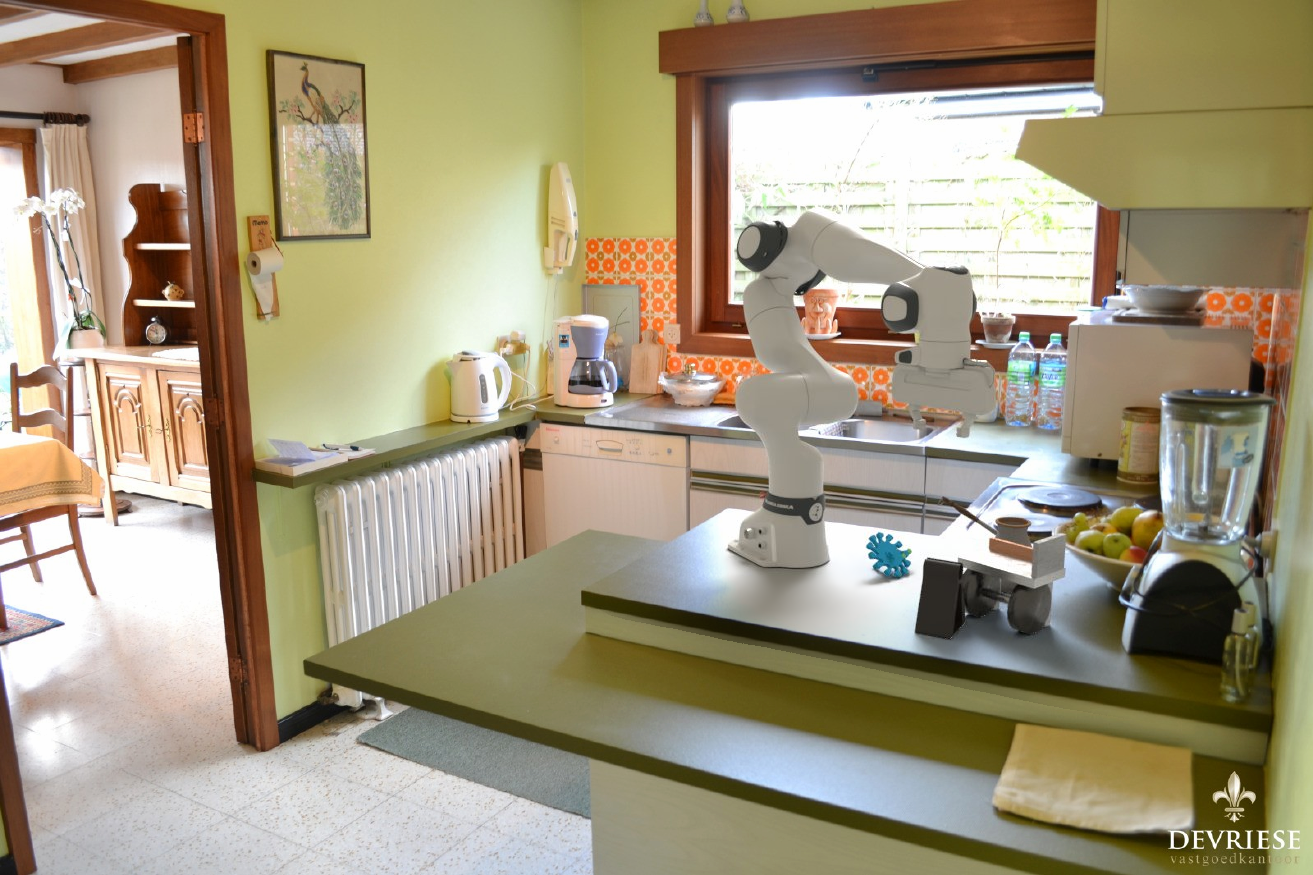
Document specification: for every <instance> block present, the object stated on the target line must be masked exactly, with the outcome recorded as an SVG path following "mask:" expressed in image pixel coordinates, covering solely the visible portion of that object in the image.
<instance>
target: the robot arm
mask: <svg viewBox="0 0 1313 875" xmlns="http://www.w3.org/2000/svg"><path fill="white" fill-rule="evenodd" d="M736 244H737V245H736V257H737V259H738V261H739V263H740V264H741V265H742V266H744V267H745V268H747V270H750V271H751V272H753V273H758V274H759V275H758V277H757V278H754V279H753V280H751V281H750V282H749V283H748V284H747V285H746V287H745V289H744V290H743V295H742V301H743V302H742V305H743V306H742V307H743V314H744V320H745V323H746V327H747V331H748V335H749V338H750V341H751V344H752V345H751V346H752V348H753V350H754V351H753V352H754V355H755V358H756V360H757V361H758V363H759V364H760V365H761V366H762V367H764V368H765V369H767V370H769V371H771V372H772V373H771V372H770V373H768V372H767V373H763V374H758V375H754V376H751V377H748V378H745V379H743V380H742V381H741V383H740V385H739V386H738V388H737V389H736V392H735V400H734V404H735V405H734V406H735V409H736V412H737V414H738V416H739V418H740V419H741V421H742V422H743V423H744V424H745V425H746V426H748V427H750V428H751V429H752V430H753V431H754V432H755V433H756V434H757V436H758V437H759V438H760V440H761V441H762V443H763V446H764V448H765V452H766V455H767V465H768V490H766V491H762V492H759V495H760V496H759V498H760V499H761V498H763V502H762V504H761V507H759V508H758V509H756V510H755V511H754V512H753V513H751V514H750V515H749V516H747V517H746V518H744V519H743V520H742V522H741V523H740V527H739V534H738V538H735V539H734V540H731V541H729V543H728V544H727V549H729V550H730V551H732V552H734V553H736V554H738V555H740V556H741V557H743V558H745V559H747V560H749V561H750V562H752V563H754V564H757V565H759V566H760V567H763V568H772V567H773V568H774V567H775V568H778V567H779V568H780V567H781V568H794V569H797V568H798V569H799V568H801V569H802V568H813V567H818V566H821V565H824V564H825V563H828V562H829V561H830V558H831V557H830V554H829V545H828V543H827V536H826V525H825V523H826V522H825V516H824V512H825V509H826V508H825V507H826V493H825V491H824V458H823V455H822V453H821V452H820V450H819V449H818V448H816V447H815V446H813V445H812V444H809V443H808V442H805V441H804V440H801V438H800V434H799V427H802V426H805V427H806V426H817V425H818V426H819V425H831V424H834V423H838V422H841V421H845V420H848V419H850V418H851V417H852V416H853V415H854V414H855V411H856V410H857V407H858V405H859V398H860V397H859V396H860V394H859V393H860V392H859V389H858V386H857V384H856V382H855V380H854V379H853V377H852V376H851V375H849V374H848V373H846V372H843V371H841V370H839V369H837V368H836V367H834V366H833V365H831V364H830V363H828V362H827V361H826V360H825V359H824V358H823V357H822V356H821V355H819V354H818V352H817V351H816V350H815V349H814V347H813V346H812V344H811V343H810V342H809V340H808V339H809V338H808V337H807V335H806V332H805V330H804V327H803V324H802V322H801V319H800V317H799V314H798V310H797V308H796V304H795V302H794V296H796V297H799V296H801V297H802V296H804V295H807V294H808V292H809V291H810V290H812V289H814V288H816V287H817V286H818V285H820V283H821V282H822V281H823V280H825V278H826V276H828V277H830V278H832V279H833V280H836V281H839V282H843V283H848V284H874V285H875V284H876V285H883V286H884V285H886V286H888V287H887V289H886V290H885V291H884V293H883V296H882V298H881V301H880V302H881V304H880V313H881V314H880V315H881V317H882V321H883V322H884V325H885V326H886V327H887V328H888V329H889V330H891V331H892V332H893V333H899V334H902V335H903V334H905V335H907V334H919V336H918V337H919V338H918V345H917V346H912V347H909V348H905V349H902V350H898V351H896V352H895V354H894V362H895V363H896V365H895V366H894V369H893V371H892V380H891V397H892V398H893V400H894V402H895V403H901V404H907V405H908V408H907V410H908V412H909V414H910V416H911V418H912V420H913V421H912V423H913V425H912V426H913V427H912V428H913V430H918V431H922V430H924V431H925V430H926V423H927V420H926V419H924V418H923V416H922V413H921V410H922V409H923V407H925V408H926V407H927V408H932V409H939V410H945V411H951V412H956V413H957V412H959V413H962V414H961V416H962V419H964V420H963V422H962V424H961V426H956V434H955V435H956V437H957V438H961V439H966V438H969V436H970V432H971V431H970V429H971V427H972V426H973V424H974V422H975V421H976V420H977V416H986V415H991V414H993V412H995V410H996V408H997V393H996V381H995V379H996V370H995V368H994V366H993V365H992V364H991V363H989V361H988V360H978V359H973V358H971V347H972V346H971V345H972V336H971V332H970V324H971V323H972V321H973V319H974V317H975V315H976V313H977V309H978V308H977V306H978V300H977V296H976V293H975V291H974V289H973V288H974V287H973V278H972V276H971V272H970V270H969V268H967V267H966V266H965V265H962V264H958V263H954V262H947V261H936V262H931V263H928V264H926V265H925V264H923V263H922V262H921V261H919V260H917V259H915V258H913V257H912V256H910V255H908V254H907V253H904V252H902V251H900V250H898V249H896V248H894V247H892V246H891V245H889V244H887V243H885V242H883V241H881V240H880V239H877V238H876V237H874V236H872V235H871V234H869V233H868V232H866V231H864V230H863V229H862V228H860V227H859V226H857V225H856V224H855V223H853V222H852V221H850V220H849V219H847V218H845V217H844V216H842V215H840V214H838V213H836V212H834V211H832V210H829V209H825V208H823V207H814V208H811V209H808V210H806V211H804V212H803V213H802V214H801V215H800V216H799V217H798V219H797V221H796V222H795V223H793V224H792V225H787V224H786V225H785V223H784V221H782V220H771V221H768V220H767V221H764V220H763V221H762V220H760V221H755V222H752V223H750V224H749V225H747V226H746V227H745V228H744V229H743V230H742V231H741V233H740V234H739V237H738V239H737V243H736ZM761 494H762V495H761Z"/></svg>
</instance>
